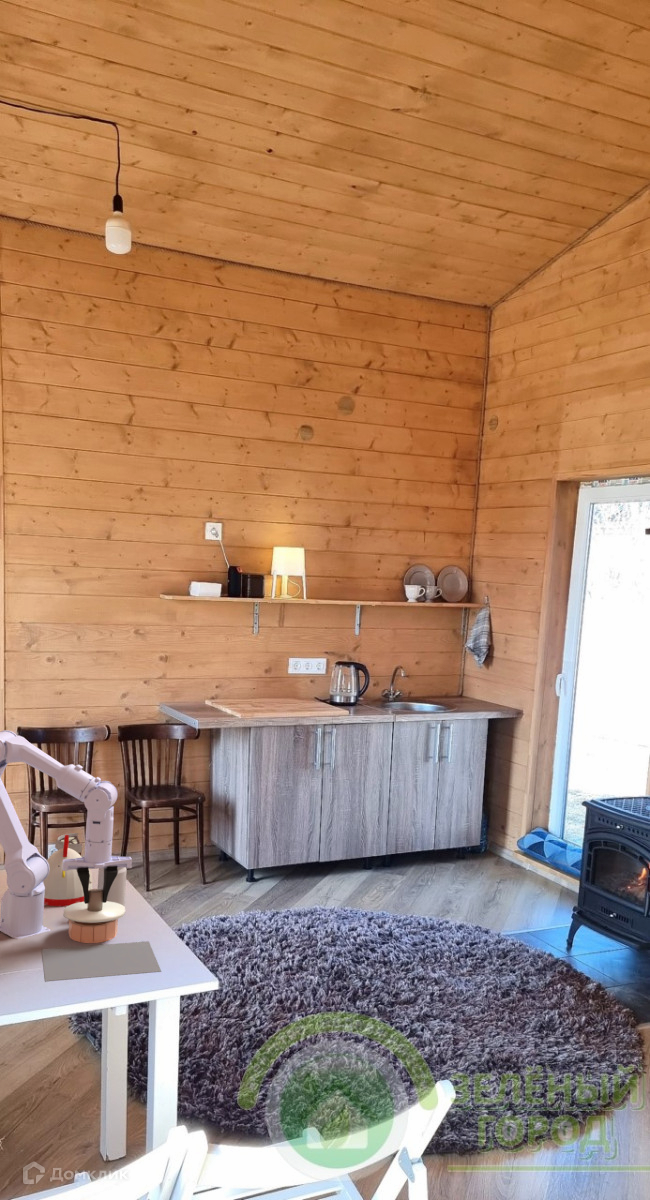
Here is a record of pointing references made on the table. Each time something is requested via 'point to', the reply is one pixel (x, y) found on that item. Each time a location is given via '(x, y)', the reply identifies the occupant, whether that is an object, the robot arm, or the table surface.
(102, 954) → the mat
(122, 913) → the lid
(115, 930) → the bowl
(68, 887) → the kitchen timer
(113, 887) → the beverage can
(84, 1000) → the table surface
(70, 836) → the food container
